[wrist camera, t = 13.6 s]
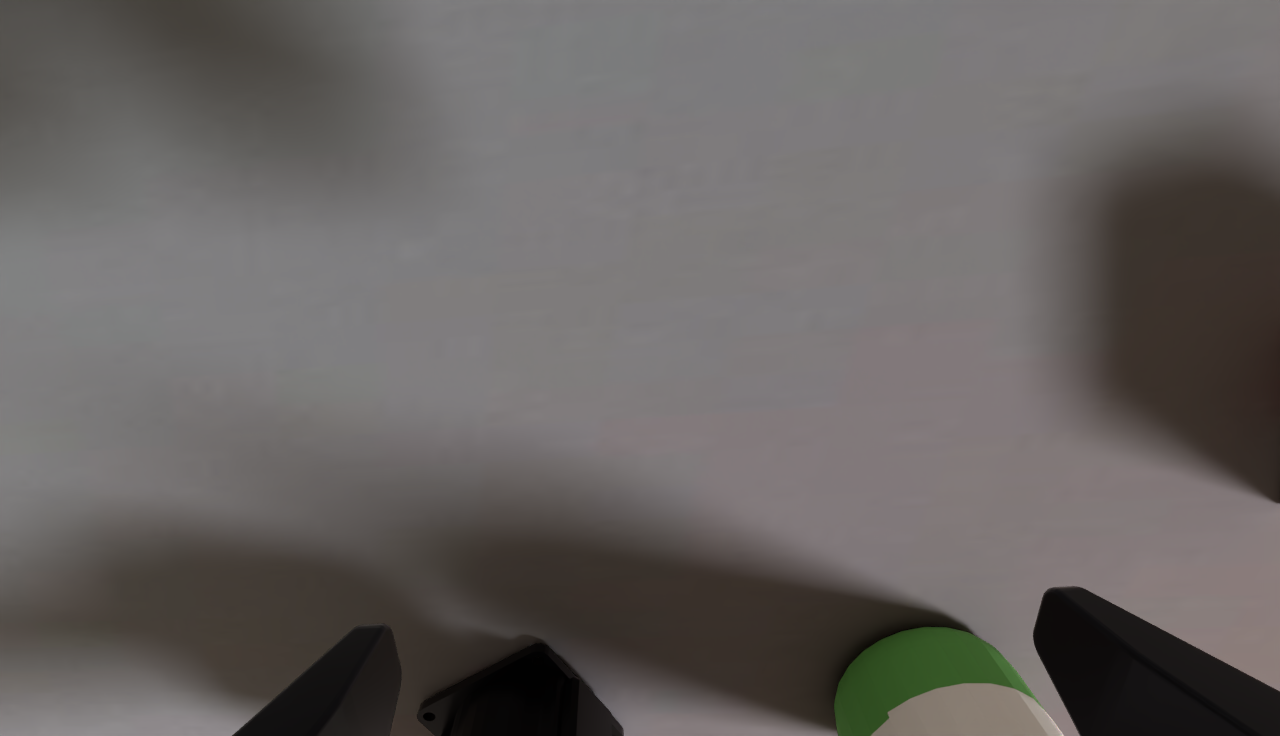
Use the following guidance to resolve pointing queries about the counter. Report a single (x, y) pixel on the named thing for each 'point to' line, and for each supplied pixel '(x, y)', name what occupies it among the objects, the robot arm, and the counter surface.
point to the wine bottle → (936, 690)
